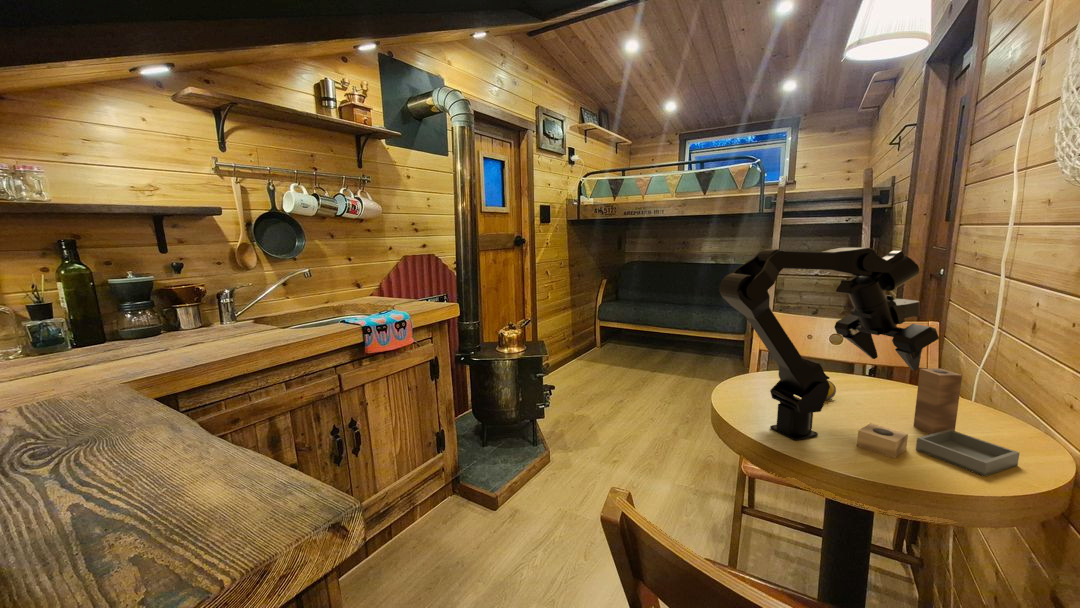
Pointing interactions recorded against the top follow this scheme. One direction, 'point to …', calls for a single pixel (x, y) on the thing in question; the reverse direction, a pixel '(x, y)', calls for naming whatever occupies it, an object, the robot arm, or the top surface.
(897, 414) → the top surface
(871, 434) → the short block
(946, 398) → the tall block
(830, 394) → the grey yellow round piece
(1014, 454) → the tray
